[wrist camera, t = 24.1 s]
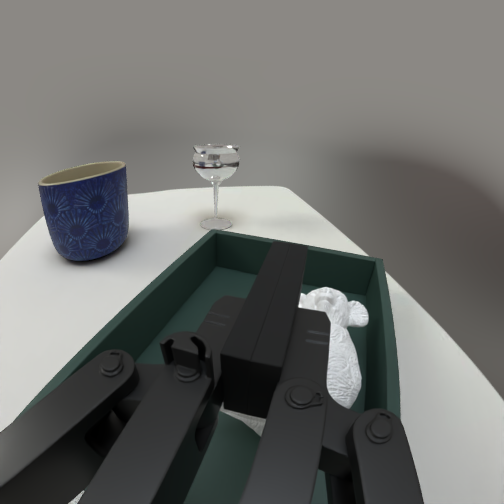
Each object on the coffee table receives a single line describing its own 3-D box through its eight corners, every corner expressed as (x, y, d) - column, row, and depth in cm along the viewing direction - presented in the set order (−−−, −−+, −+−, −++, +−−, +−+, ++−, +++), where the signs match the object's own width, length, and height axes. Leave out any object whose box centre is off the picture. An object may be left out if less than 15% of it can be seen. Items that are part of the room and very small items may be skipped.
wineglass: (228, 235, 40) (229, 149, 34) (186, 228, 41) (183, 148, 36) (243, 219, 45) (246, 145, 40) (205, 213, 47) (205, 143, 41)
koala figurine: (171, 372, 12) (254, 282, 23) (229, 453, 13) (282, 347, 24) (347, 351, 9) (353, 252, 20) (374, 450, 10) (375, 327, 21)
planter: (127, 266, 31) (114, 175, 26) (42, 272, 28) (21, 190, 23) (139, 226, 41) (132, 157, 36) (70, 233, 39) (59, 168, 33)
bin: (370, 299, 27) (382, 258, 25) (341, 572, 5) (380, 575, 3) (213, 267, 32) (211, 228, 29) (53, 458, 10) (11, 421, 8)
